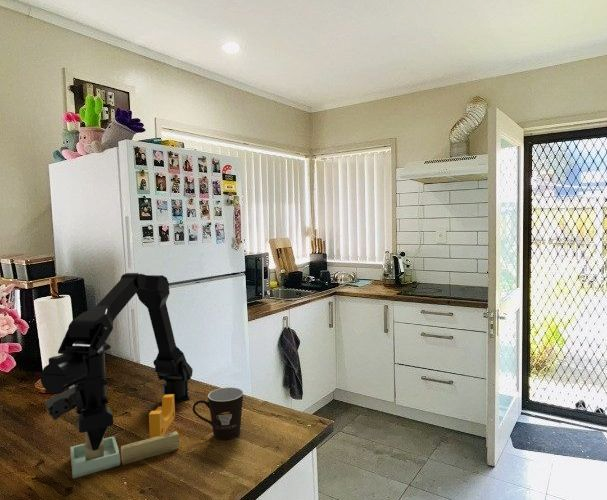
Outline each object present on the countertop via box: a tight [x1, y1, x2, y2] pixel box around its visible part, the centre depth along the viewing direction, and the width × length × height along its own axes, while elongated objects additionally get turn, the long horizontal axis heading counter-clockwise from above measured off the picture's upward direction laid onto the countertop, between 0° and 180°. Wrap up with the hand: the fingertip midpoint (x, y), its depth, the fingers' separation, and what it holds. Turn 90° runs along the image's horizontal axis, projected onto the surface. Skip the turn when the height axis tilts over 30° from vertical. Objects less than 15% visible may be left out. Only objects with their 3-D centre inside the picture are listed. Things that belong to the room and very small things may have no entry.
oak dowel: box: [84, 432, 105, 461], centre depth 91 cm, size 4×4×7 cm
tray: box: [69, 435, 121, 479], centre depth 92 cm, size 9×9×3 cm
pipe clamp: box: [148, 394, 176, 438], centre depth 107 cm, size 12×4×6 cm, turn 1°
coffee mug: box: [192, 386, 244, 441], centre depth 103 cm, size 12×9×10 cm
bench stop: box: [120, 431, 180, 466], centre depth 94 cm, size 12×2×4 cm, turn 121°
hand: (94, 444), depth 92 cm, fingers open, 5 cm apart
